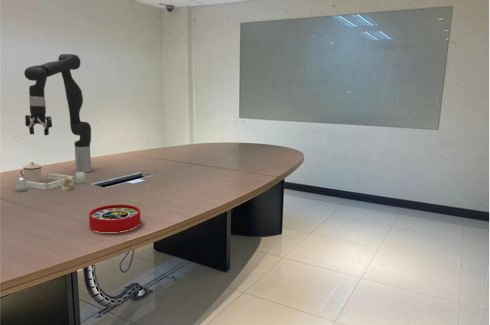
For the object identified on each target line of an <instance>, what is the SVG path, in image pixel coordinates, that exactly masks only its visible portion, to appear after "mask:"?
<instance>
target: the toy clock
mask: <svg viewBox="0 0 490 325" xmlns="http://www.w3.org/2000/svg"><path fill="white" fill-rule="evenodd" d="M88 224H89V227H90V228H91V229H92V230H95V231H99V232H120V231H125V230H129V229H132V228H134V227H136V226H138V225H139V224H140V225H141V210H140V208H138V207H137V206H135V205H131V204H130V205H129V204H110V205H104V206H100V207H96V208H93V209H92V210H90V212H89V213H88ZM90 228H89V229H90Z"/></svg>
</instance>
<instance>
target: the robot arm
mask: <svg viewBox="0 0 490 325" xmlns="http://www.w3.org/2000/svg"><path fill="white" fill-rule="evenodd" d="M80 67H81V59H80V57H79V55H77V54H74V53H61V54H60V55H59V56H58V58H57V60H55V61H49V62H46V63H43V64H40V65H33V66H28V67H27V68H25V69H24V73H23V74H24V76H25V79H27V80H28V81H34V82H35V83H34V84H32V85H30V86H28V87H29V88H28V91H29V113H30V114H28V115H27V114H26V115H25V119H24V120H25V121H24V122H25V123H24V124H25V127H28V129H29V135H35V125H41V126H42V127H43V128H44V129H43V130H44V131H43V133H44V136H49V134H50V131H49V130H50V128H52V127H53V121H52V116H47V115H46V114H47V107H46V98H45V87H46V83H47V80H48V78H49V77H52V76H54V75H56V74H61V77H62V80H63V85H64V91H65V96H66V102H67V107H68V113H69V123H70V125H69V126H70V131H71V133H72V134H73V135H74V136H79V139H78V140H76V141H75V142H74V159H75V161H74V162H75V173H76V172H85V174H86V173H92V160H91V158H92V156H91V142H92V127H91V124H90V123H89V122H87V121H81V118H80V112H81V108H82V106H83V104H84V97H83V91H82V89H81V87H80V86H79V85H78V84H77V82H76V81H75V79H74V78H73V76H72V73H71V70H72V71H75V70H78V69H79V68H80Z"/></svg>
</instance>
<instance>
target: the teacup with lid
mask: <svg viewBox="0 0 490 325" xmlns="http://www.w3.org/2000/svg"><path fill="white" fill-rule="evenodd" d="M19 174H20V175H21V176H20V177H26V180H27V181H30V182H38V183H42V181H43V180H42V178H43V177H42V165H40V164H37V163H35V162H34V161H30V162H29V163H28V164H27V165H24V166H23V168H21V169H20V170H19Z"/></svg>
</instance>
